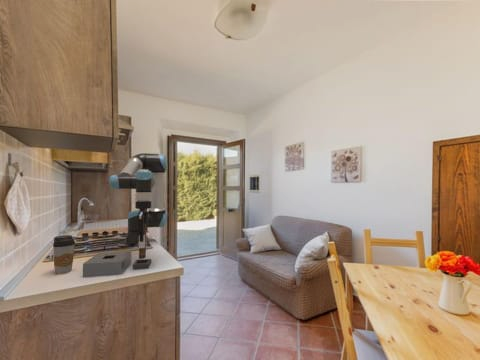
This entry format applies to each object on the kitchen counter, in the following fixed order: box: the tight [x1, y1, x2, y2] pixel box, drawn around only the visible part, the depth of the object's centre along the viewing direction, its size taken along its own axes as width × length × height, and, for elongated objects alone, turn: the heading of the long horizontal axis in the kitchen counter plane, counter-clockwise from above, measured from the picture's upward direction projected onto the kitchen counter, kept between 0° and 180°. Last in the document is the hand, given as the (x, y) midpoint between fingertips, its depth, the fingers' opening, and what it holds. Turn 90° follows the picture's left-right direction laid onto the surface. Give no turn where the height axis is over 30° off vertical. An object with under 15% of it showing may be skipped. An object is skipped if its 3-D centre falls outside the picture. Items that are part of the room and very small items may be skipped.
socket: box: [131, 258, 152, 271], centre depth 111 cm, size 7×7×2 cm
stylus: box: [138, 224, 147, 260], centre depth 112 cm, size 3×3×17 cm
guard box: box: [82, 251, 132, 278], centre depth 107 cm, size 16×16×6 cm
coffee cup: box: [52, 237, 76, 275], centre depth 104 cm, size 8×8×15 cm
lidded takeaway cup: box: [52, 234, 73, 261], centre depth 124 cm, size 9×8×12 cm
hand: (142, 246), depth 112 cm, fingers closed on stylus, 3 cm apart
